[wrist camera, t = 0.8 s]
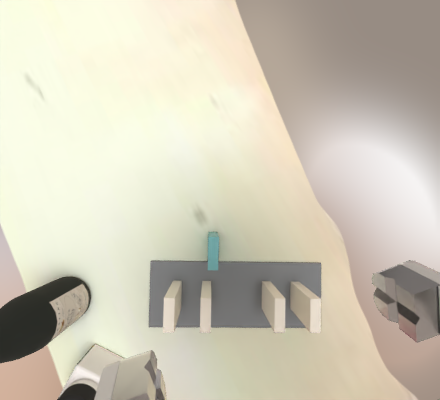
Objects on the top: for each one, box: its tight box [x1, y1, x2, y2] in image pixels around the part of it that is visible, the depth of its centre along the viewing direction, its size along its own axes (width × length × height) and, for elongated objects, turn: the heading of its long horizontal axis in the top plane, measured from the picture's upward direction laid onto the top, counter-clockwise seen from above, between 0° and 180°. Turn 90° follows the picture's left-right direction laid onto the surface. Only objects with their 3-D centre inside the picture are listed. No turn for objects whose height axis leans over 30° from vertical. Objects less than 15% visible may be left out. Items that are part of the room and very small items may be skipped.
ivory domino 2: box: [200, 281, 211, 333], centre depth 45 cm, size 2×5×10 cm, turn 179°
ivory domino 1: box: [163, 281, 182, 332], centre depth 44 cm, size 2×5×10 cm, turn 179°
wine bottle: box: [0, 277, 90, 363], centre depth 34 cm, size 8×8×30 cm
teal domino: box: [208, 232, 219, 270], centre depth 45 cm, size 2×5×10 cm, turn 179°
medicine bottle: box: [57, 344, 124, 400], centre depth 43 cm, size 7×7×12 cm
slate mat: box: [149, 261, 321, 328], centre depth 50 cm, size 32×12×1 cm, turn 89°
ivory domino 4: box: [290, 282, 321, 333], centre depth 45 cm, size 2×5×10 cm, turn 179°
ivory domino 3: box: [262, 281, 285, 333], centre depth 45 cm, size 2×5×10 cm, turn 179°
